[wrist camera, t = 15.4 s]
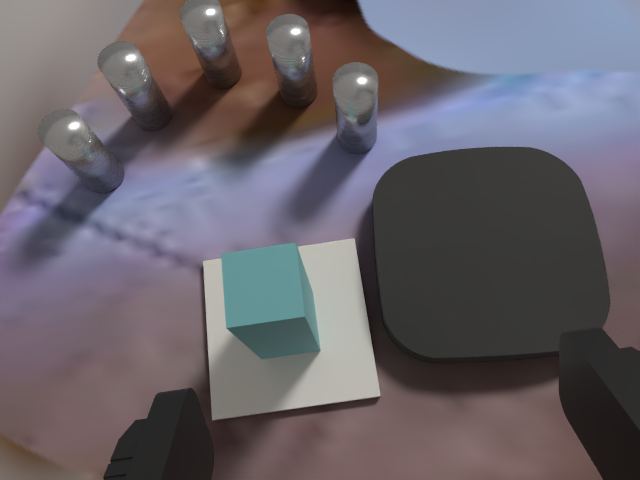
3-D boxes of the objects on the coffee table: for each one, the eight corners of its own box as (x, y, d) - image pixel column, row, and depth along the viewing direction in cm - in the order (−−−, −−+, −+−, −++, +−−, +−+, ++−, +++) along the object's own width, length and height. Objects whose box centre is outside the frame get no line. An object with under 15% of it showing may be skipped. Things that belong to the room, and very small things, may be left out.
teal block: (313, 293, 38) (295, 242, 29) (320, 350, 37) (304, 316, 28) (256, 301, 39) (221, 253, 29) (261, 359, 37) (226, 328, 28)
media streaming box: (384, 368, 37) (385, 361, 34) (367, 174, 42) (367, 154, 40) (608, 354, 36) (628, 346, 33) (562, 158, 42) (576, 137, 39)
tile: (354, 240, 40) (354, 238, 40) (380, 396, 36) (380, 396, 36) (205, 263, 40) (203, 260, 40) (214, 420, 36) (212, 420, 36)
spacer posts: (357, 37, 47) (355, -30, 40) (379, 150, 43) (381, 96, 36) (89, 80, 47) (45, 20, 41) (86, 195, 43) (36, 150, 37)
